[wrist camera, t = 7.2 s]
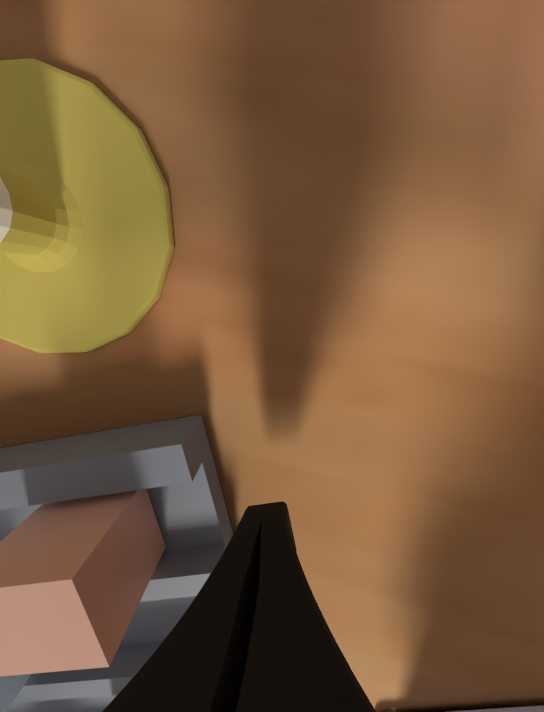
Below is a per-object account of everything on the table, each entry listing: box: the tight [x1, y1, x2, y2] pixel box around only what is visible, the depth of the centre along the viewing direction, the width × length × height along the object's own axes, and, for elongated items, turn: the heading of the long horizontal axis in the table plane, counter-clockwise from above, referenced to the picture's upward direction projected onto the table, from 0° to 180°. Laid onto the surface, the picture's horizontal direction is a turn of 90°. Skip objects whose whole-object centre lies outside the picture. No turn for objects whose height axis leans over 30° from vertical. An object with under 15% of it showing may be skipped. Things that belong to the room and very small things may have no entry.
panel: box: [0, 415, 233, 712], centre depth 13 cm, size 16×17×3 cm
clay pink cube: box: [0, 489, 166, 677], centre depth 10 cm, size 4×3×4 cm
